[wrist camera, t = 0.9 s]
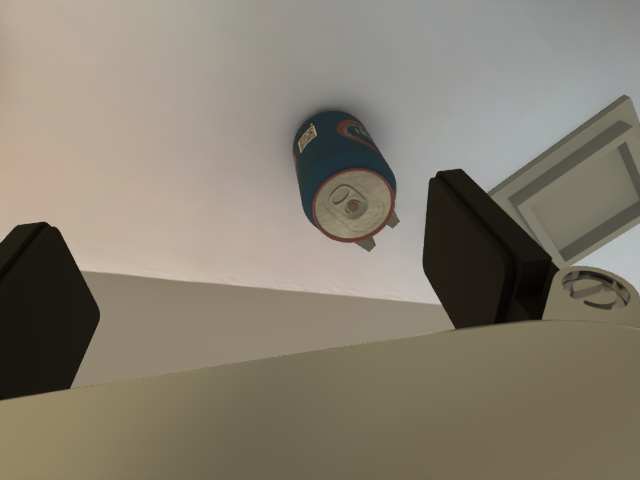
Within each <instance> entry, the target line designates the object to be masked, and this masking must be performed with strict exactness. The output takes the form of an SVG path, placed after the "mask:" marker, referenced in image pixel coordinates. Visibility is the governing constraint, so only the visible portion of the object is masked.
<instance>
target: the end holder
mask: <svg viewBox="0 0 640 480" xmlns="http://www.w3.org/2000/svg"><path fill="white" fill-rule="evenodd" d="M487 194H488V195H489V196H490V197H491V198H492V199H493V200H494V201H495V202H496V203H497V204H498V205H499V206H500V207H501V208H502V209H503V210H504V211H505V212H506V213H507V214H508V215H509V216H510V217H511V218H512V219H513V220H514V221H515V222H516V223H517V224H518V225H519V226H520V227H521V228H523V229H524V230H525V231H526V232H527V233H528V234H529V235H530V236H531V237H532V238H533V239H534V240H535V241H536V242H537V243H538V244H539V245H540V246H541V247H542V248H543V249H544V250H545V251H546V252H547V253H548V254H549V255H550V256H551V257H552V262H553V263H554V264H555V265H556V266H557V267H558V268H559V269H560V270H561V269H563V268H567V267H570V266H571V265H573V264H574V263H576V262H578V261H579V260H581V259H583V258H584V257H586V256H587V255H589V254H591V253H592V252H594V251H595V250H597V249H599V248H600V247H602V246H604V245H605V244H607V243H608V242H610V241H612V240H613V239H615V238H617V237H618V236H620V235H621V234H623V233H625V232H626V231H628V230H629V229H631V228H633V227H634V226H636V225H638V224H639V223H640V123H639V120H638V117H637V115H636V112H635V109H634V106H633V104H632V101H631V98H630V97H628V96H625V95H623V96H622V97H621V98H619V99H618V100H616V101H615V102H614V103H612V104H611V105H609V106H608V107H607V108H605V109H604V110H603V111H601V112H600V113H598V114H597V115H596V116H594V117H593V118H591V119H590V120H589V121H587V122H586V123H584V124H583V125H582V126H580V127H579V128H577V129H576V130H575V131H573V132H572V133H570V134H569V135H568V136H566V137H565V138H563V139H562V140H561V141H559V142H558V143H557V144H555V145H554V146H552V147H551V148H550V149H548V150H547V151H545V152H544V153H543V154H541V155H540V156H538V157H537V158H536V159H534V160H533V161H531V162H530V163H529V164H527V165H526V166H524V167H523V168H522V169H520V170H519V171H517V172H516V173H515V174H513V175H512V176H511V177H509V178H508V179H506V180H505V181H504V182H502V183H501V184H499V185H498V186H497V187H495V188H494V189H492V190H491V191H490V192H488V193H487Z"/></svg>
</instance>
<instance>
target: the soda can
mask: <svg viewBox="0 0 640 480" xmlns="http://www.w3.org/2000/svg"><path fill="white" fill-rule="evenodd" d="M293 156H294V162H295V167H296V173H297V178H298V184H299V189H300V195H301V200H302V206H303V209H304V212H305V214H306V216H307V218H308V219H309V221H310V222H311V223H312V224H313V225H314V226H315V227H316V228H318V229H319V230H320V231H321V232H322V233H323V234H325V235H326V236H327V237H329V238H331V239H333V240H336V241H339V242H347V243H352V242H359V241H363V240H366V239H368V238H370V237H372V236H374V235H376V234H377V233H379V232H380V231H381V230H382V229H383V228H384V227H385V226H386V225H387V223H388V222H389V220H390V218H391V216H392V214H393V211H394V206H395V198H396V180H395V177H394V174H393V172H392V171H391V169H390V167H389V166H388V164H387V162H386V161H385V159H384V158H383V156H382V154H381V153H380V151H379V150H378V148H377V147H376V145H375V143H374V142H373V140H372V139H371V137H370V135H369V134H368V132H367V131H366V129H365V127H364V126H363V125H362V123H361V122H360V121H359V120H358V119H356V118H355V117H353V116H352V115H350V114H347V113H344V112H340V111H328V112H323V113H320V114H317V115H315V116H313V117H312V118H310V119H309V120H308V121H306V122H305V123H304V124H303V125H302V127H301V128H300V129H299V131H298V133H297V135H296V137H295V140H294V144H293Z"/></svg>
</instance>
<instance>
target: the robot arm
mask: <svg viewBox="0 0 640 480" xmlns="http://www.w3.org/2000/svg"><path fill="white" fill-rule="evenodd" d="M423 269H424V273H425V275H426V277H427V278H428V280H429V282H430V284H431V286H432V287H433V289H434V291H435V293H436V294H437V296H438V298H439V300H440V302H441V303H442V305H443V307H444V309H445V311H446V312H447V314H448V316H449V318H450V320H451V321H452V323H453V325H454V327H455V329H454V330H447V331H441V332H434V333H427V334H421V335H414V336H407V337H401V338H394V339H387V340H381V341H374V342H367V343H361V344H355V345H348V346H342V347H335V348H328V349H322V350H315V351H309V352H303V353H296V354H290V355H283V356H277V357H270V358H264V359H258V360H251V361H245V362H238V363H232V364H225V365H219V366H213V367H207V368H200V369H193V370H187V371H181V372H174V373H168V374H161V375H155V376H148V377H142V378H135V379H129V380H123V381H116V382H110V383H104V384H97V385H91V386H85V387H78V388H72V389H70V387H71V385H72V383H73V380H74V378H75V375H76V373H77V371H78V369H79V366H80V364H81V362H82V360H83V357H84V355H85V353H86V350H87V348H88V346H89V343H90V341H91V339H92V337H93V334H94V332H95V330H96V327H97V325H98V323H99V319H100V312H99V308H98V306H97V303H96V302H95V300H94V298H93V296H92V294H91V292H90V290H89V288H88V286H87V284H86V282H85V280H84V278H83V276H82V274H81V272H80V270H79V268H78V266H77V264H76V262H75V260H74V258H73V256H72V254H71V252H70V250H69V248H68V246H67V244H66V243H65V241H64V239H63V237H62V235H61V233H60V231H59V230H58V229H57V228H56V227H54V226H53V227H51V226H50V225H49V224H48V223H46V222H38V223H31V224H23V225H17V226H16V227H15V228H14V229H13V230H12V231H11V232H10V233H9V234H8V235H7V236H6V238H5V239H4V240H3V241H2V242H1V243H0V480H640V296H639V293H638V292H637V290H636V289H635V288H634V287H633V285H631V284H630V283H629V282H627V281H626V280H625V279H623V278H622V277H620V276H618V275H616V274H614V273H612V272H609V271H606V270H602V269H599V268H594V267H588V266H571V267H567V268H563V269H561V270H560V269H559V268H558V267H557V266H556V265H555V264H554V263H553V262H552V257H551V256H550V255H549V254H548V253H547V252H546V251H545V250H544V249H543V248H542V247H541V246H540V245H539V244H538V243H537V242H536V241H535V240H534V239H533V238H532V237H531V236H530V235H529V234H528V233H527V232H526V231H525V230H524V229H523V228H521V227H520V226H519V225H518V224H517V223H516V222H515V221H514V220H513V219H512V218H511V217H510V216H509V215H508V214H507V213H506V212H505V211H504V210H503V209H502V208H501V207H500V206H499V205H498V204H497V203H496V202H495V201H494V200H493V199H492V198H491V197H490V196H489V195H488V194H487V193H486V192H485V191H484V190H483V189H482V188H481V187H479V186H478V185H477V184H476V183H475V182H474V181H473V180H472V179H471V178H470V177H469V176H468V175H467V174H466V173H465V172H464V171H463V170H462V169H453V170H445V171H438V172H437V174H436V176H435V177H434V178H431V179H430V181H429V188H428V200H427V212H426V224H425V237H424V249H423Z"/></svg>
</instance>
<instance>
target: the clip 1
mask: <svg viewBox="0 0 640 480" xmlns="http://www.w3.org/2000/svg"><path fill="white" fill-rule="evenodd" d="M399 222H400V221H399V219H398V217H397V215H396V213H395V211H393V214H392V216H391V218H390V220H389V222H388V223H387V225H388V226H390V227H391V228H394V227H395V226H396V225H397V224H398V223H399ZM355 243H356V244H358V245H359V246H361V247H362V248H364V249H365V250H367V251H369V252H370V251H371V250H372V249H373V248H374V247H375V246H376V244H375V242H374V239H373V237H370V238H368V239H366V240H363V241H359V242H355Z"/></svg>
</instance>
